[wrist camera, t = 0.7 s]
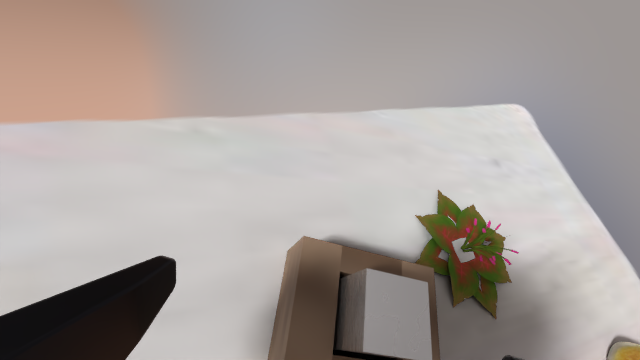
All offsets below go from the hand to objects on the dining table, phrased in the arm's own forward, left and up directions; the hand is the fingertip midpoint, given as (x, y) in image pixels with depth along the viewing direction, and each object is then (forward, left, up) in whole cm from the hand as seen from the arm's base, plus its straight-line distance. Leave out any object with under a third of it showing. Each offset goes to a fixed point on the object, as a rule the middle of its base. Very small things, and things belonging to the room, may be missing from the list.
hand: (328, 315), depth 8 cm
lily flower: (+9, -19, -14) cm, 25 cm away
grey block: (+1, -7, -10) cm, 12 cm away
